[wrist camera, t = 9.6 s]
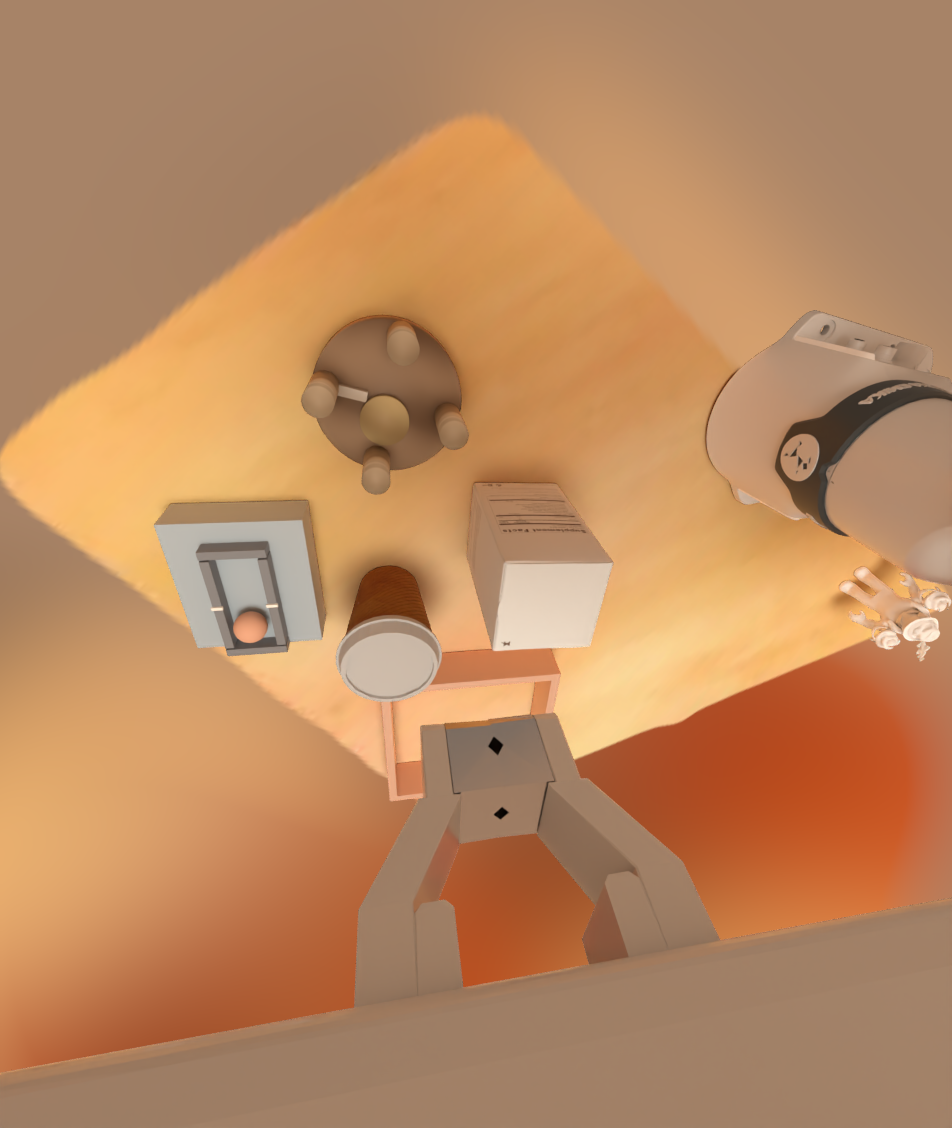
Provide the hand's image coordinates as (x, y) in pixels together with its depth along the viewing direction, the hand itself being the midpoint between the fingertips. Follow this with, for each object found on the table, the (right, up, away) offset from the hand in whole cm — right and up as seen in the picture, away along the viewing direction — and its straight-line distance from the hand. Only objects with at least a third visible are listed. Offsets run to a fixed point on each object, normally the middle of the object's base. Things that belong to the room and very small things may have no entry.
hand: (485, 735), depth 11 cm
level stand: (-22, +4, +38) cm, 45 cm away
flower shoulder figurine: (+49, +2, +53) cm, 73 cm away
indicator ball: (-22, -2, +36) cm, 42 cm away
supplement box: (+3, +8, +40) cm, 41 cm away
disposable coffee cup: (-10, +1, +43) cm, 44 cm away
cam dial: (-8, +19, +31) cm, 37 cm away
